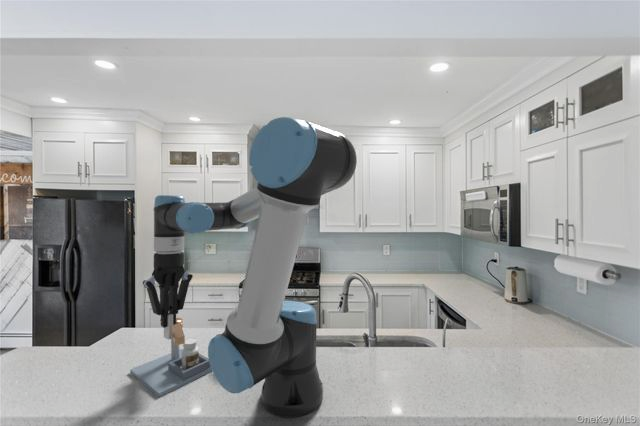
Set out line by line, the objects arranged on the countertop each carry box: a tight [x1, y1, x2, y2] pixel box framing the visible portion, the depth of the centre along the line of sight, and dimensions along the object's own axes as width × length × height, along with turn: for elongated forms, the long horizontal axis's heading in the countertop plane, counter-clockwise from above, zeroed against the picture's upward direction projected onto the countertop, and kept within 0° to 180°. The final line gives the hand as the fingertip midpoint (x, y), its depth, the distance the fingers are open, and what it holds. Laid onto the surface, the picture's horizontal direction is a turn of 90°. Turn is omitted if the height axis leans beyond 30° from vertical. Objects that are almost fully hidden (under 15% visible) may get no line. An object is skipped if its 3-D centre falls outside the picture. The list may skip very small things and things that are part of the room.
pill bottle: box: [182, 338, 200, 370], centre depth 85 cm, size 4×4×8 cm
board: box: [130, 338, 213, 398], centre depth 85 cm, size 17×15×10 cm
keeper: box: [173, 317, 186, 346], centre depth 85 cm, size 14×4×2 cm, turn 31°
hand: (168, 337), depth 83 cm, fingers closed
